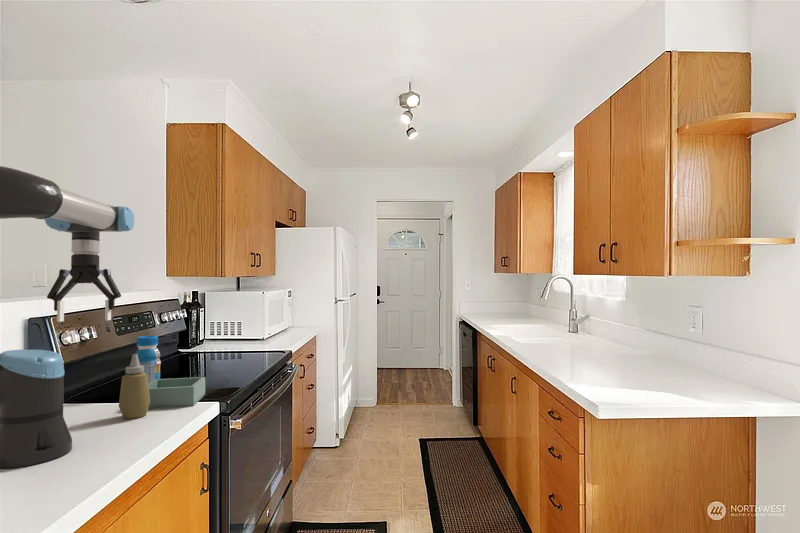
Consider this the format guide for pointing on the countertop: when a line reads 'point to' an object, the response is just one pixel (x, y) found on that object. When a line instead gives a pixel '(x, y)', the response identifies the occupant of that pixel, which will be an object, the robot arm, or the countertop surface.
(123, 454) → the countertop surface
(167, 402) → the box
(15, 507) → the countertop surface
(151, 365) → the beverage bottle
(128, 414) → the squeeze bottle
